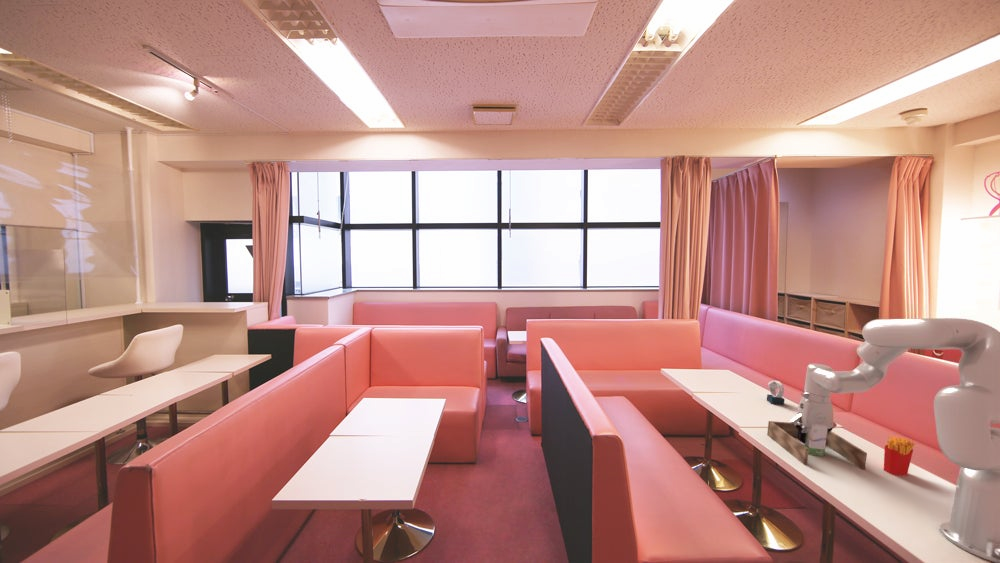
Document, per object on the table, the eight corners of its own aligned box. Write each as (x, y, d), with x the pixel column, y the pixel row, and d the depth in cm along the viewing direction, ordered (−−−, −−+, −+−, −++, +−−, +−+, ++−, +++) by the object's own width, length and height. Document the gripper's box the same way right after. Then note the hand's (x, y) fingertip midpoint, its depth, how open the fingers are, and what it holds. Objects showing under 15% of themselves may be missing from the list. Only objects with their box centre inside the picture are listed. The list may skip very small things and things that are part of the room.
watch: (776, 399, 183) (778, 379, 182) (786, 406, 175) (788, 385, 174) (764, 398, 184) (766, 378, 183) (773, 405, 176) (775, 383, 175)
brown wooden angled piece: (864, 469, 125) (867, 453, 125) (803, 464, 127) (805, 448, 126) (819, 438, 145) (821, 424, 144) (767, 435, 147) (768, 421, 146)
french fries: (890, 475, 122) (895, 442, 121) (877, 468, 126) (882, 435, 125) (914, 475, 122) (919, 442, 121) (901, 468, 126) (906, 436, 125)
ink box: (824, 456, 132) (828, 426, 131) (809, 454, 133) (813, 424, 132) (810, 444, 141) (814, 415, 139) (796, 442, 142) (799, 414, 140)
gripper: (799, 399, 132) (793, 445, 134) (850, 402, 130) (843, 449, 132) (785, 391, 139) (780, 435, 141) (833, 394, 138) (827, 438, 140)
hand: (811, 441), depth 137 cm, fingers open, 6 cm apart
